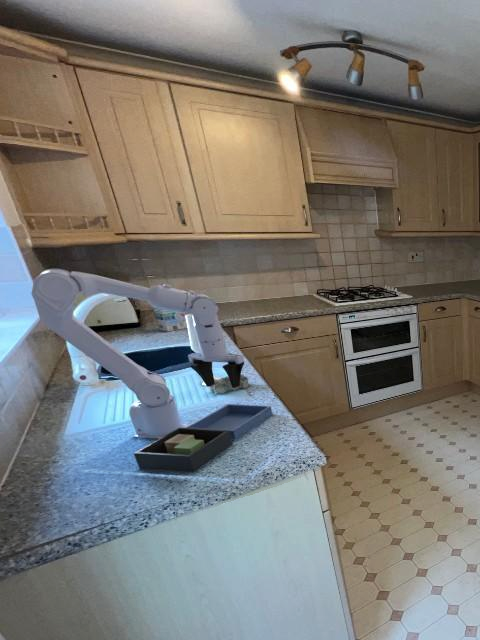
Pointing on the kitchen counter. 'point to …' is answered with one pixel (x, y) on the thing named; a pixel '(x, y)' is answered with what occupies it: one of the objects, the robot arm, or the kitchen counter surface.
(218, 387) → the egg carton
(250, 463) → the kitchen counter surface
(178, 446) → the green cube
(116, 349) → the robot arm
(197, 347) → the champagne flute
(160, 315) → the light bulb box
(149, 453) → the black basket
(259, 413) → the blue box
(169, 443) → the cream cube
